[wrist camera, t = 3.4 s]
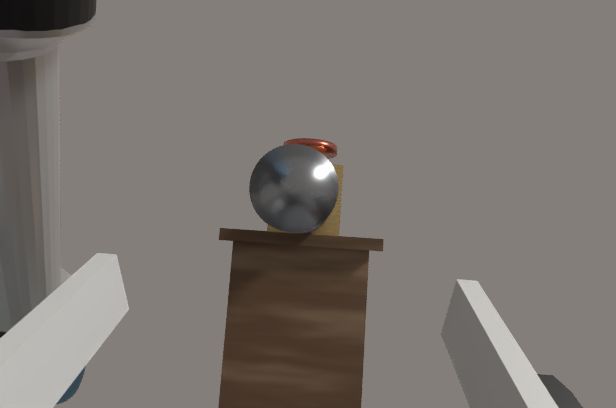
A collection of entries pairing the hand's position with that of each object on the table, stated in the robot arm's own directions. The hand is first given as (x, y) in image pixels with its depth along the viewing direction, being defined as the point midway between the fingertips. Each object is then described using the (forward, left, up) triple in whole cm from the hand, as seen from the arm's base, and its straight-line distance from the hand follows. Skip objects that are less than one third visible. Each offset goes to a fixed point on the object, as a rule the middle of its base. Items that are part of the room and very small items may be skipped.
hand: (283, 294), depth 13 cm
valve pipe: (-13, +7, +2) cm, 15 cm away
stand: (-19, +11, -28) cm, 35 cm away
